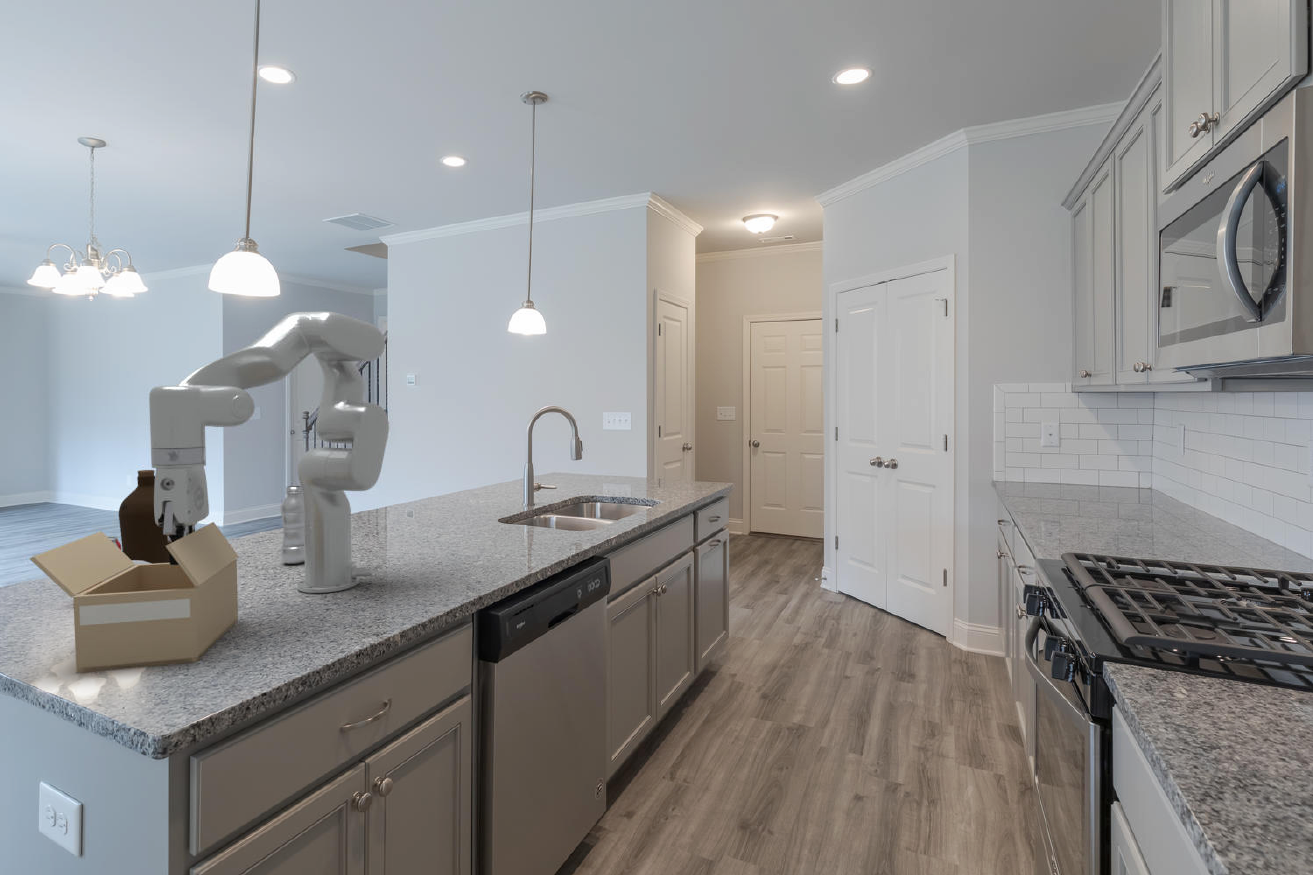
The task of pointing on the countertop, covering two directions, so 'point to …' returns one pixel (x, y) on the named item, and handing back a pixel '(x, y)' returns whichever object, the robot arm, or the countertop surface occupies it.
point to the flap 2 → (202, 553)
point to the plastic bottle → (293, 526)
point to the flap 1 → (83, 563)
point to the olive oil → (142, 523)
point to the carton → (152, 617)
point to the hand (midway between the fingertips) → (182, 563)
